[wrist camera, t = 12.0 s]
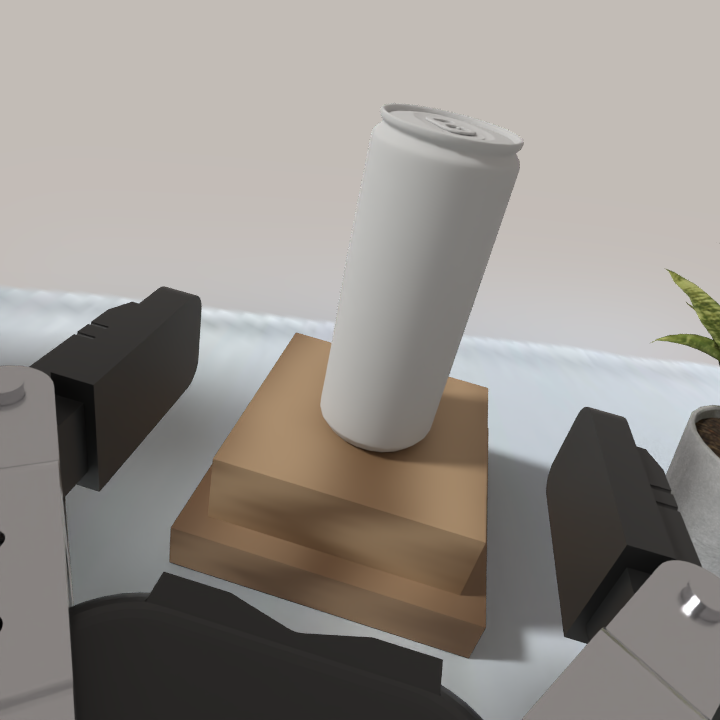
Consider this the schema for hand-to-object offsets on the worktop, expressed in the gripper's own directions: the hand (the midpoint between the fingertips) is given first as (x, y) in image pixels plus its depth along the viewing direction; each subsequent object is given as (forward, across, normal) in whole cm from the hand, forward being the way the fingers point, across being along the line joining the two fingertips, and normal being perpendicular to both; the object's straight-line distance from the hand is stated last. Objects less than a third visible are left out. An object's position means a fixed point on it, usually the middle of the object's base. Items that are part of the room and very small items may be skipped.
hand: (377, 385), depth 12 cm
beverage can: (+10, 0, +8) cm, 13 cm away
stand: (+10, 0, +13) cm, 16 cm away
